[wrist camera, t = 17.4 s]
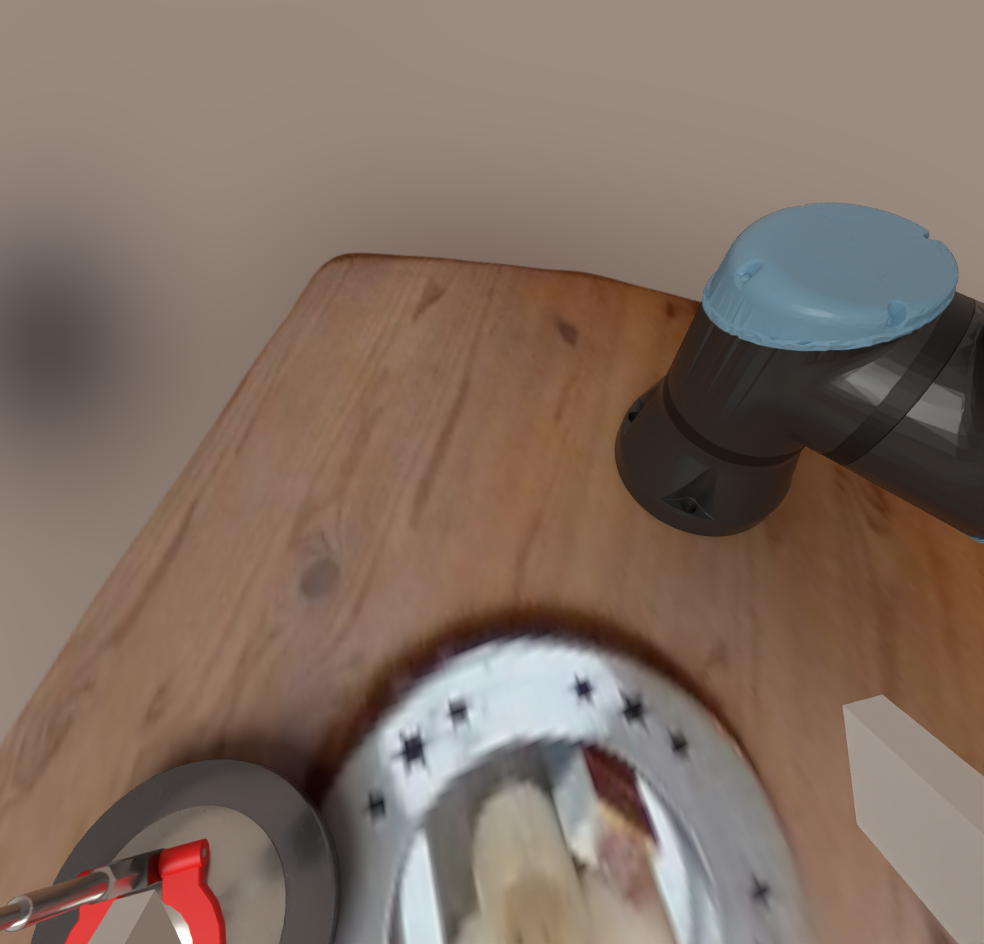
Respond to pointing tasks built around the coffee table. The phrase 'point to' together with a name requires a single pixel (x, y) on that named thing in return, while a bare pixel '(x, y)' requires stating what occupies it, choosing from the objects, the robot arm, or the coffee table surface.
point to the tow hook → (111, 882)
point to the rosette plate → (225, 850)
